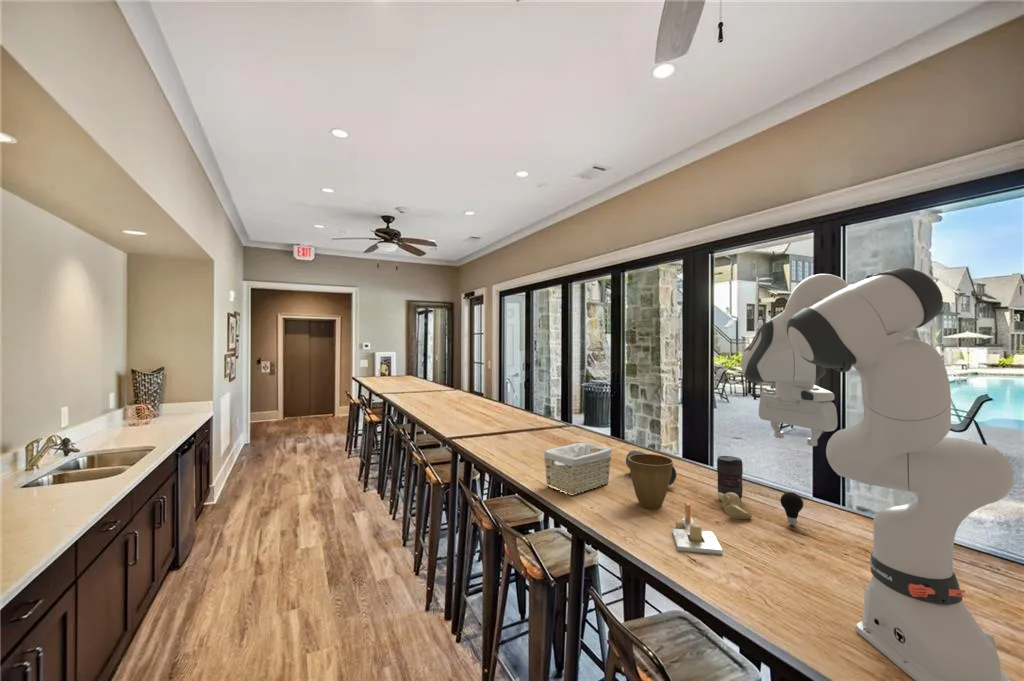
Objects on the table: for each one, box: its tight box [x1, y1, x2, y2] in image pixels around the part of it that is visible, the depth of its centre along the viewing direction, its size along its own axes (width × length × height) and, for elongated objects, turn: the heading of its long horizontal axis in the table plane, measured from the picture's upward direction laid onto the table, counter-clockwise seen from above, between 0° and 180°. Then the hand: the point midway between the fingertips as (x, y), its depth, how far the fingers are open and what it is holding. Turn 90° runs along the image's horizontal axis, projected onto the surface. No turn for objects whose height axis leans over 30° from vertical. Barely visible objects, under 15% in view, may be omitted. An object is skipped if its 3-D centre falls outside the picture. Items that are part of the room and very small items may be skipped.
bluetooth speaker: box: [625, 449, 677, 486], centre depth 175 cm, size 23×9×10 cm, turn 17°
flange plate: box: [671, 501, 724, 556], centre depth 122 cm, size 20×11×6 cm, turn 167°
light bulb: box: [779, 491, 804, 526], centre depth 131 cm, size 6×6×10 cm
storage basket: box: [543, 442, 612, 494], centre depth 169 cm, size 24×16×15 cm
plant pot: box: [628, 453, 674, 509], centre depth 149 cm, size 15×15×16 cm
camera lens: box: [716, 455, 744, 503], centre depth 152 cm, size 8×8×15 cm
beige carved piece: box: [717, 492, 753, 520], centre depth 138 cm, size 8×7×12 cm
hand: (795, 441), depth 117 cm, fingers open, 8 cm apart
